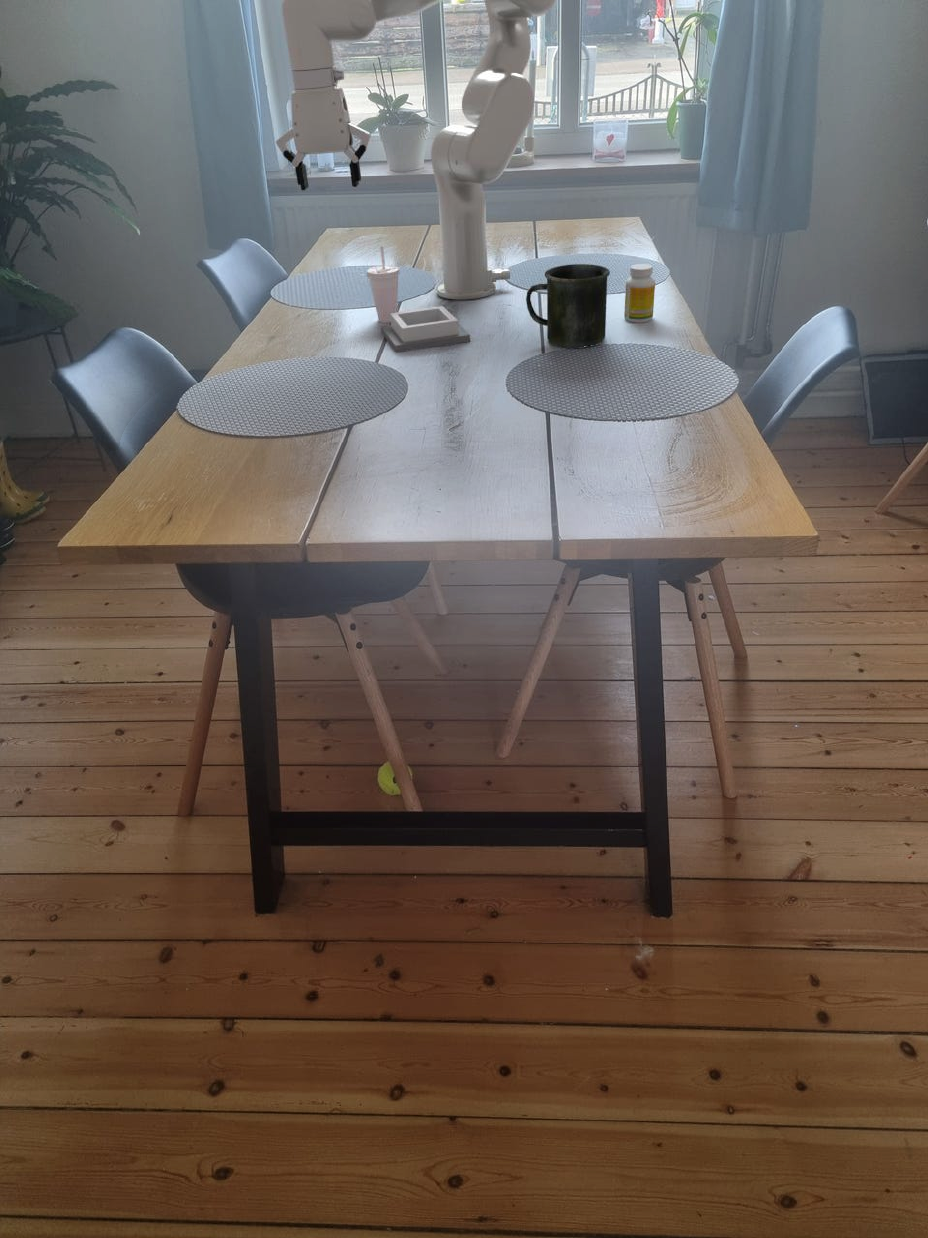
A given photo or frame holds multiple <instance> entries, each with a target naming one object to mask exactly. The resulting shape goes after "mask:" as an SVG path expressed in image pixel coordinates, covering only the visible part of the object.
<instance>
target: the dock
mask: <svg viewBox="0 0 928 1238" xmlns="http://www.w3.org/2000/svg"><path fill="white" fill-rule="evenodd" d="M390 319H391V322H390V324H386V325H381V326H380V332H381V334H382V335H383V337H384V338H385V340H387V342H388V344H390V346H391V348H392V349H393V350H394V351H395V352H396V353H401V352H408V351H414V350H415V351H416V350H419V349H420V350H421V349H428V348H435V347H441V346H448V345H455V344H461V343H467V342H471V334H470V333H469V332H468V331H467V330H466V329H465V328H464V327H462V326H461V325H460V323H459V320H458V319H457V318H456V317H455V316H454V315H453V314H451V312H450V311H448V309H446V308H445V307H444V305H441V306H435V307H434V306H433V307H425V308H419V309H413V310H405V311H399V312H398V311H397V313H390Z"/></svg>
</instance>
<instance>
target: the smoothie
mask: <svg viewBox="0 0 928 1238" xmlns="http://www.w3.org/2000/svg"><path fill="white" fill-rule="evenodd" d="M379 248H380V257H381V265H379V266H373V267H370V268H369V269H367V270H366V277H367V278H368V279H369V285H370V288H371V292H372V297H373V302H374V305H375V311H376V314H377V319H378V322H379V323H383V324H387V323H388V324H391V319H390V313H397V312H398V307H399V306H398V305H399V304H398V302H399V301H398V299H399V295H398V294H399V276H400V274H401V273H400V267H398V266H394V265H386V261H385V251H384V245H383V244H380V245H379Z"/></svg>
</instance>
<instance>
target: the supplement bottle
mask: <svg viewBox="0 0 928 1238" xmlns="http://www.w3.org/2000/svg"><path fill="white" fill-rule="evenodd" d="M653 268H654V266H653V265H651V264H648V263H640V264H639V263H638V264H633V265H631V266H630V271H629V274H630V277H628V278H627V279H626V282H625V296H624V312H623V313H624V316H623V317H624V320H625V321H627V322H629V323H637V324H638V323H639V324H641V323H647V322H650V321H652V320H653V316H654V304H655V290H656V281H655V278H654V277H653V276H652V274H653Z"/></svg>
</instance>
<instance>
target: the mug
mask: <svg viewBox="0 0 928 1238" xmlns="http://www.w3.org/2000/svg"><path fill="white" fill-rule="evenodd" d="M610 273H611V271H610V269H608V268H607V267H604V266H602V265H598V264H586V263H583V264H582V263H576V264H575V263H574V264H573V263H572V264H564V265H558V266H554V267H551V268H549V269H547V270H546V271H545V272H544V277H545V278H546V283H537V284H535V285H532V286H530V288H529V289H528V290H527V291H526V298H525V300H526V307H527V308H526V309H527V311H528V313H529V316H530V317H531V318H532V320H533V321H534V322H536V323H537V324H538V325H539V324H540V325H543V326H546V328H547V329H546V330H547V333H546V334H547V335H546V337H547V340H548V342H549V343H550V344H551V345H553V346H556V347H560V348H566V349H580V348H579V347H584V346H591V345H595V346H597V345H596V344H598V345H599V344H602V343H603V342H604V340H605V339H606V330H607V329H606V325H607V324H606V322H607V296H608V294H607V293H608V277H609V276H610V275H611V274H610ZM537 291H546V293H547V294H546V296H547V297H546V298H547V299H546V300H547V301H546V305H547V306H546V308H547V310H546V312H547V313H546V315H547V316H546V317H547V319H546V318H543V317H541V316H539V315H538V314H537V313H536V311H535V309H534V307H533V305H532V299H531V296H532V294H533V292H537ZM591 347H592V346H591Z"/></svg>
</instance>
